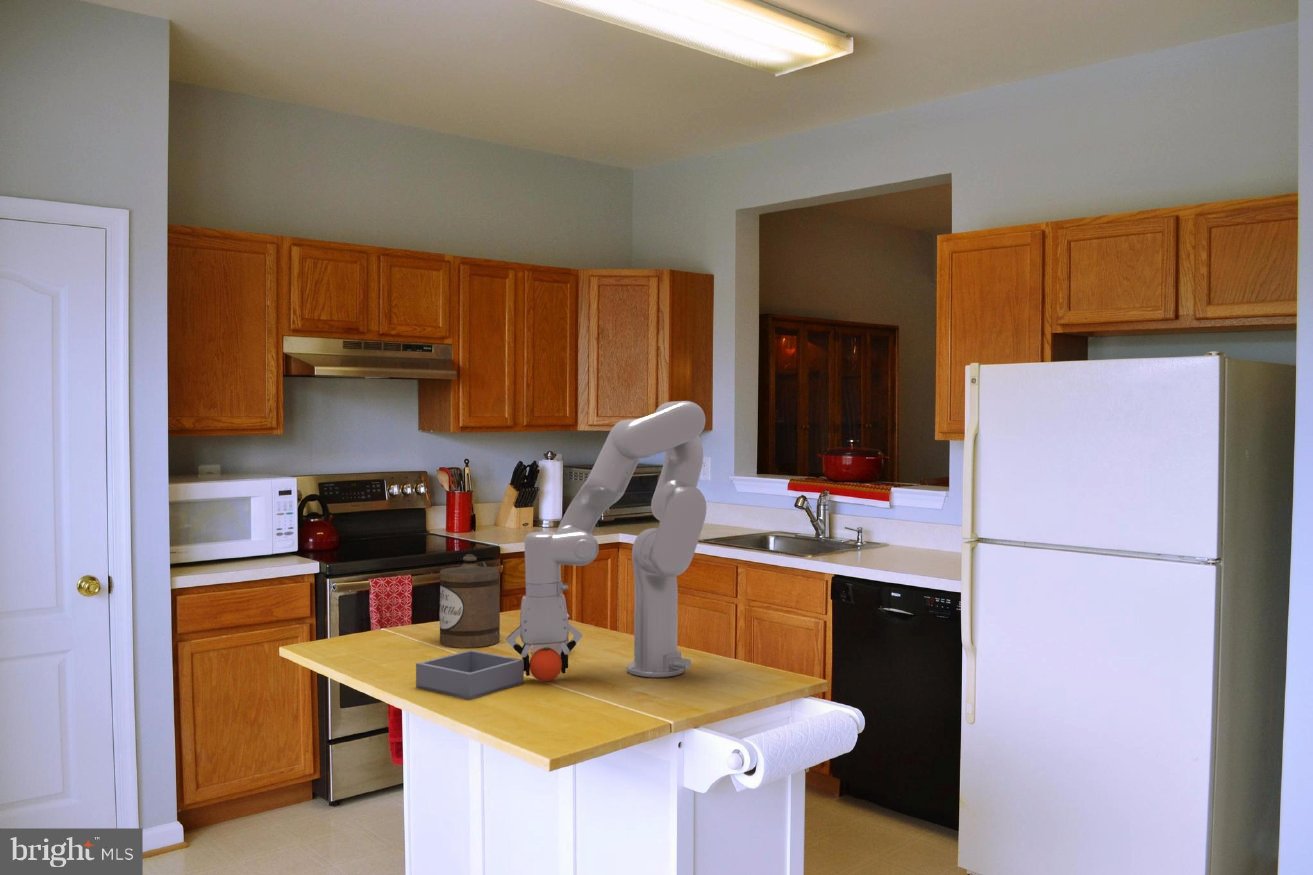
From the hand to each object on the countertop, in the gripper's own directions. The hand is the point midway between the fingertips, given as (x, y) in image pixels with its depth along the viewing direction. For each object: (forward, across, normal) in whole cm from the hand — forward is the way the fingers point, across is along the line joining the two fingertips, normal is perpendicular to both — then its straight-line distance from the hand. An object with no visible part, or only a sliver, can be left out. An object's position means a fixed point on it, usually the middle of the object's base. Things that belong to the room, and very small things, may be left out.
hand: (545, 672), depth 213 cm
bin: (+1, +16, +2) cm, 16 cm away
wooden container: (+2, +16, -41) cm, 44 cm away
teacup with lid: (+2, -2, -27) cm, 27 cm away
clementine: (+2, 0, +1) cm, 2 cm away
